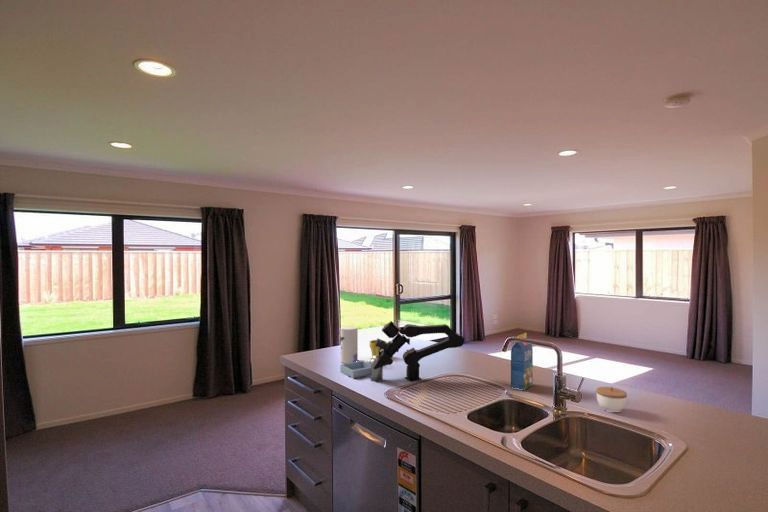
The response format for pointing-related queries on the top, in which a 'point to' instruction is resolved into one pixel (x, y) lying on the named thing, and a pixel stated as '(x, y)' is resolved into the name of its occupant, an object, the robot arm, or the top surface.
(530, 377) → the blue food package
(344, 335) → the container
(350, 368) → the bin
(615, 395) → the lidded jar
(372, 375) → the metallic can
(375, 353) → the plant pot
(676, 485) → the top surface
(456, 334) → the robot arm
